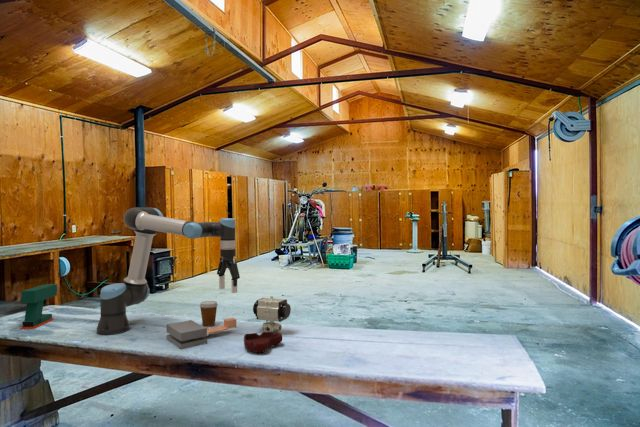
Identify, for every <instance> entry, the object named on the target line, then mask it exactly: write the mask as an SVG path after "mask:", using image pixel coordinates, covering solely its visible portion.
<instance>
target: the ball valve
mask: <svg viewBox="0 0 640 427" xmlns="http://www.w3.org/2000/svg"><path fill="white" fill-rule="evenodd" d="M291 309H292V308H291V304H289V303H288V299H284V298H274V296H273V295H272V296H270V297H262V298H259V299H257V300H256V301H255V302H254V304H253V306H252V311H253V314H254V315H255V317H256V320H261V321H265V322H263V324H262V325H261V328H262V330H263V331H264V332H273V333H281V331H282V324H281V323H280V322H283V321H285V320H287V319H288V318H289V317H290V315H291Z"/></svg>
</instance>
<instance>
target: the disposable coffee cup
mask: <svg viewBox="0 0 640 427" xmlns="http://www.w3.org/2000/svg"><path fill="white" fill-rule="evenodd" d="M218 304H219V303H218V301H216V300H206V301H202V302H200V303H199V307H200V314H201V322H202V326H204V327H212V326H215V325H216V319H217V318H216V317H217V310H218V309H217V308H218Z"/></svg>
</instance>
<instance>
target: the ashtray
mask: <svg viewBox="0 0 640 427" xmlns="http://www.w3.org/2000/svg"><path fill="white" fill-rule="evenodd" d="M282 341H283V334H282V333H281V332H278V333H276V332H265V331H264V332H261V333H260V334H258V332H254V333H246V334H244V336H243V345H244V346H245V349H246V350H248V351H249V352H253V353H256V355H262V354H264V352H266V351H267V350H269V349H270V348H273V347H277V346H279V345H280V344H281V343H282Z"/></svg>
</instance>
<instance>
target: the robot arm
mask: <svg viewBox="0 0 640 427" xmlns="http://www.w3.org/2000/svg"><path fill="white" fill-rule="evenodd" d="M123 222H124V224H125V226H126V227H127V228H128V229H131V230H133V232H134V233H135V238H134V239H135V240H134V242H133V247H132V253H131V259H130V264H129V269H128V274H127V276H126V277H125V278H123V282H122V283H121V282H120V283H119V282H118V283H117V282H116V283H113V284H111V283H110V284H107V285H105V286H103V287H102V288H101V289H100V295H99V298H100V299H99V300H100V301H99V302H100V318H99V320H98V324H97V326H96V334H97V335H101V336H102V335H103V336H105V335H106V336H107V335H110V336H111V335H117V334H122V333H126V332H128V331H129V330H131V328H130V327H131V324H130V322H129V318H128V316H127V307H130V306H131V307H132V306H133V305H139V304H141V303H143V302H145V301H146V300H147V299H148V297H149V295H150V287H149V284H148V281H147V279H146V274H147V268H148V263H149V259H150V253H151V248H152V244H153V239H154V236H156V235H158V232H160V233H161V232H162V233H165V234H166V233H167V234H171V235H177V236H183V237H186V238H188V239H192V240H193V239H194V240H195V239H202V238H220V242H219V245H220V251H219V253H220V254H219V255H220V257H219V262H218V267H217V271H216V274H217V275H218V280H219V281H218V286H219V287H218V288H219V290H224V289H225V288H226V284H225V283H226V281H225V279H226V277H225V276H226V275H225V273H226V271H227V269H228V271H229V273H230V277H231V279H230V280H231V285H230V286H231V294H236V293H238V279H241V278H240V277H241V276H240V272H239V269H238V267H239V266H238V264H237V262H238V260H237V259H236V258H235V259H234V257H236V255H237V254H236V251H237V250H236V247H237V246H236V227H237V226H236V219H235V218H230V217H229V218H227V217H226V218H224V217H223V218H220V220H219V221H216V222H215V221H203V222H197V221H189V220H183V219H179V218H172V217H167V216H164V215H163V213H162V212H161V211H160V210H159V209H158V208H155V207H138V206H137V207H131V208H129V209H127V210H126V211H125V213H124V215H123Z"/></svg>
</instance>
